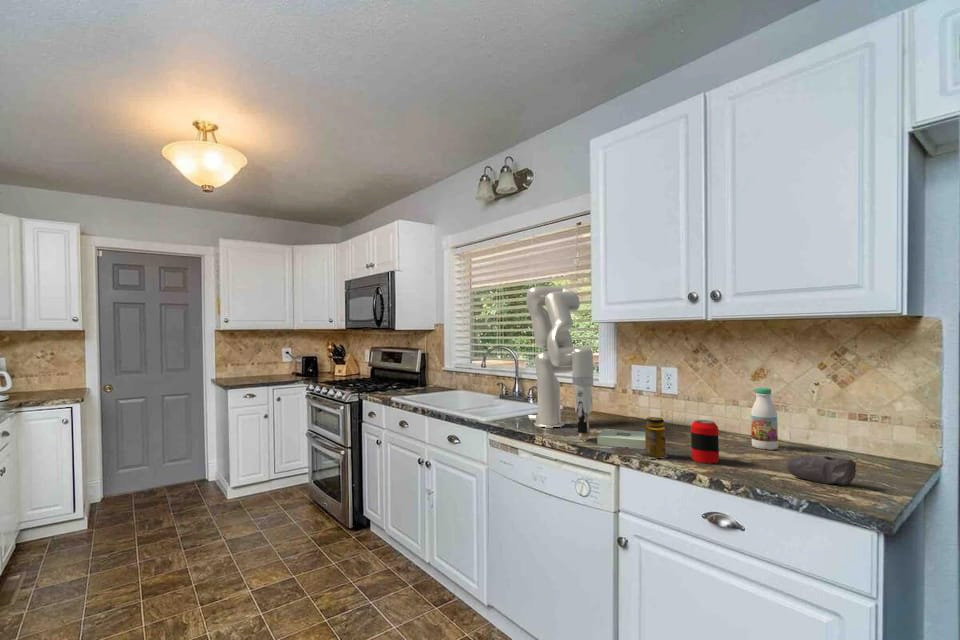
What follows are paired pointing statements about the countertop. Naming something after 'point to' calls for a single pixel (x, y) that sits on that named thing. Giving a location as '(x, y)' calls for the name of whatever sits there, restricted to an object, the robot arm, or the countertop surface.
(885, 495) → the countertop surface
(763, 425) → the milk bottle
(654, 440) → the condiment
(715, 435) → the soda can
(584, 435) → the peg
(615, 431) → the board
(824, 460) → the perforated stone tool
